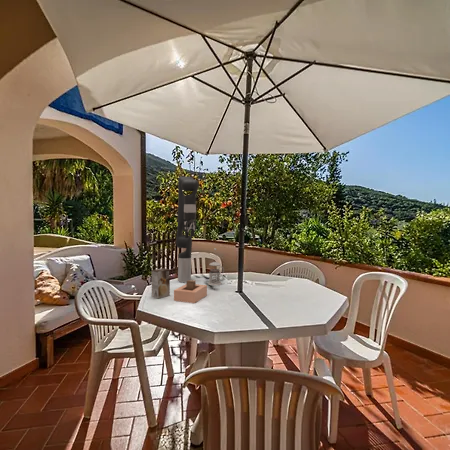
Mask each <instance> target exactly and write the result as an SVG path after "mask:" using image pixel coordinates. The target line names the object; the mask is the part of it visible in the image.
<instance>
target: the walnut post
mask: <svg viewBox="0 0 450 450" xmlns="http://www.w3.org/2000/svg"><path fill="white" fill-rule="evenodd" d="M185 284H186V290H190V291H193V290H194V289H196V284H197V283H196V280H194V279H193V280H192V279H191V280H188V281H187V283H185Z"/></svg>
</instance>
